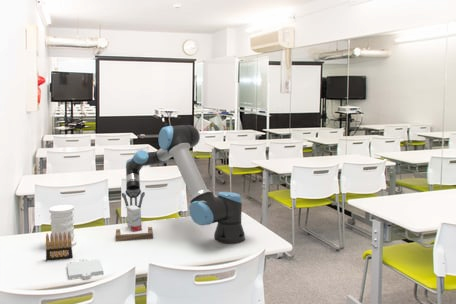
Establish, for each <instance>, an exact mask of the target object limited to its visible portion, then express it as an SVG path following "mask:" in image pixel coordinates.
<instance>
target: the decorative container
mask: <svg viewBox="0 0 456 304" xmlns="http://www.w3.org/2000/svg"><path fill="white" fill-rule="evenodd" d="M74 210H75V207H74V205H72V204H59V205H58V204H57V205H54V206H51V207H49V208H48V212H49V213H50V215H49V217H50V220H51V221H50V226H51V230H50V231H51V233H52V234H53V239H54V242H55V233H57V236H58V243H59V233H60V232H61V235H62V241H63V235H64V232H65V233H66V238H67V246H68V232H70V235H71V242H72V247H74V246H76V245H77V239H75V232H74V230H75V226H74V223H75V222H74V213H73V211H74ZM54 247H55V244H54Z"/></svg>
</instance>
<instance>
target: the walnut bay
mask: <svg viewBox="0 0 456 304" xmlns="http://www.w3.org/2000/svg"><path fill="white" fill-rule="evenodd" d="M114 239H115V242H126V241H139V240H140V241H141V240H153V239H154V231H153V227H152V226H148V228H147V232H142V233H127V234H126V233H123V234H121V228H116V229H115V238H114Z"/></svg>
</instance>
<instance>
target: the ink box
mask: <svg viewBox="0 0 456 304" xmlns="http://www.w3.org/2000/svg"><path fill="white" fill-rule="evenodd" d="M137 206H138V205H137ZM137 206H136V205H135V204H132V206H130V205H129V206H127V208H126V220H127V229H129V230H131V231H132V232H138V231H142V230H143V228H142V227H143V226H142V214H141V212H142V211H141V209H142V208H139V207H137Z"/></svg>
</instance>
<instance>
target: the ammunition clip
mask: <svg viewBox="0 0 456 304" xmlns="http://www.w3.org/2000/svg"><path fill="white" fill-rule="evenodd" d="M45 235H46V236H45V250H46V251H45V260H46V262H48V261H47V260H51V261H57V260H59V261H60V259H61V260H70V258H71V259H73V257H74V256H73V255H74V254H73V246H72V242H71V235H70V232H68V246H67V238H66V233H65V232H64V235H63V241H62V235H61V232H60V233H59V243H58V236H57V233H55V242H54V239H53V234H52V232H51V233H50V236H49V233H46V234H45ZM54 244H55V247H54Z"/></svg>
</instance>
